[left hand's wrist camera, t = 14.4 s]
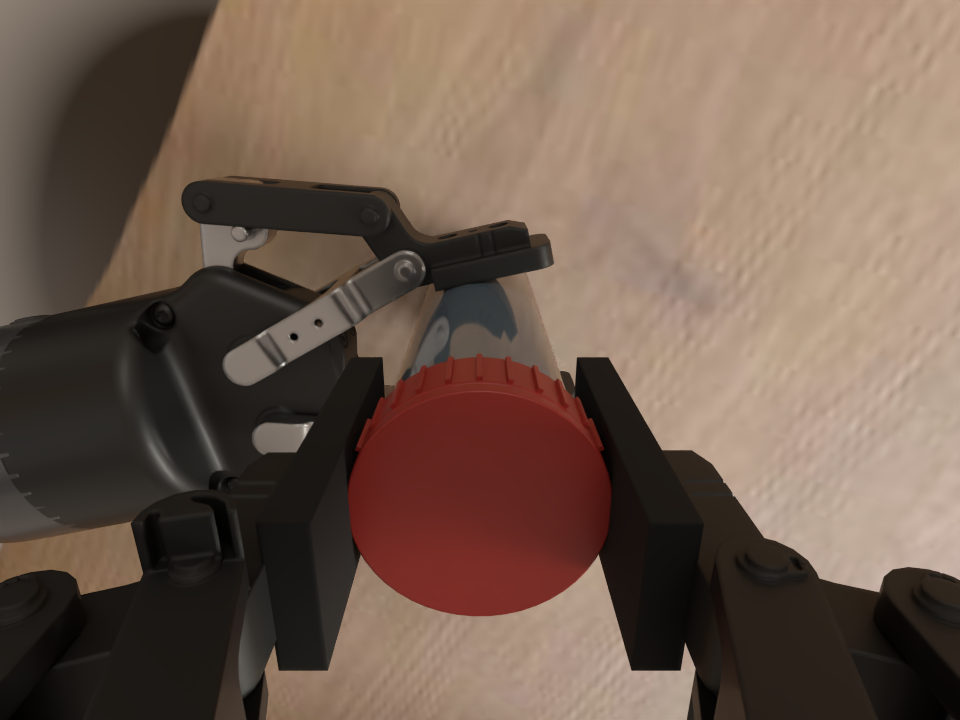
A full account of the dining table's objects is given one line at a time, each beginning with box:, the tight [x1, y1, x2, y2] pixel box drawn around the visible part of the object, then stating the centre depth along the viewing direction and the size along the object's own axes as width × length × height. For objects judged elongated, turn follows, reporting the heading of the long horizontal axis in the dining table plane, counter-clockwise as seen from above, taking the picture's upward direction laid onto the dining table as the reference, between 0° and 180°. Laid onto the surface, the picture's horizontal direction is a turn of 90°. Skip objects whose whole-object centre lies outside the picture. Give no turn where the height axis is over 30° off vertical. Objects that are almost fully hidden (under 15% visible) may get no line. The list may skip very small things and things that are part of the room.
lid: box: [348, 354, 612, 616], centre depth 11 cm, size 5×5×2 cm
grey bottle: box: [394, 272, 566, 390], centre depth 18 cm, size 4×4×15 cm
